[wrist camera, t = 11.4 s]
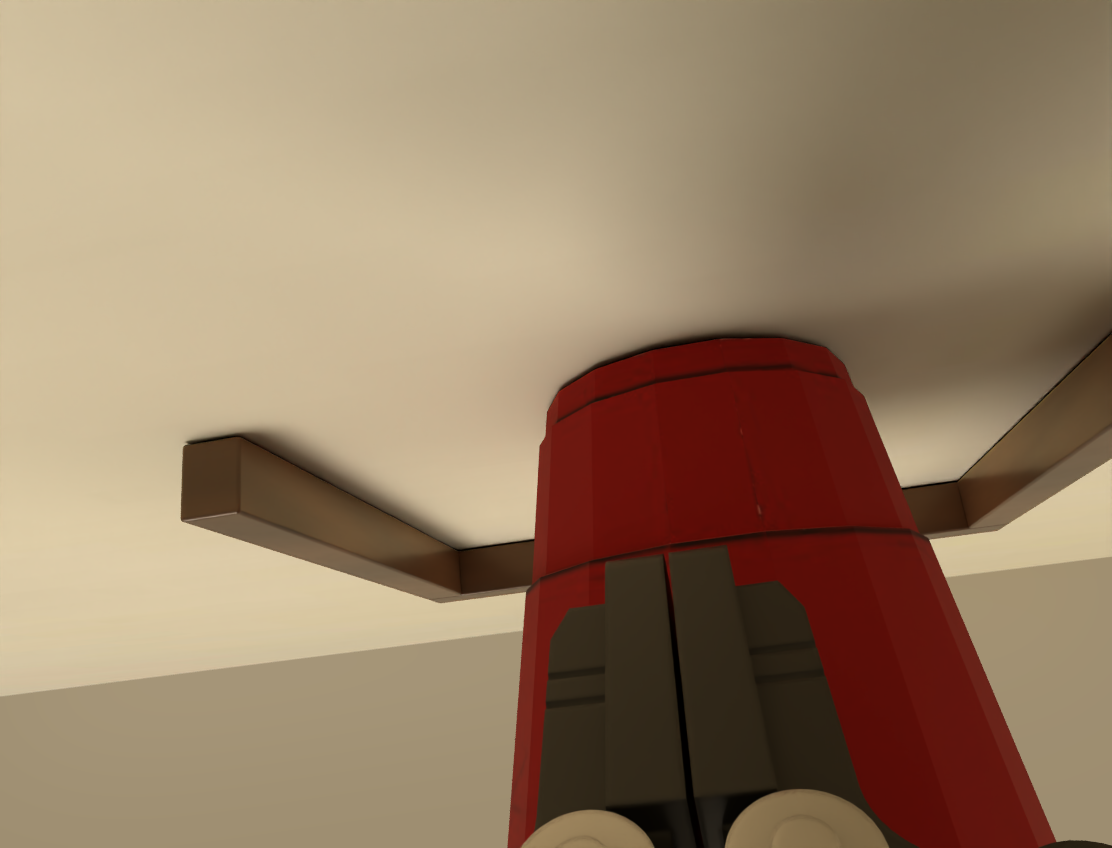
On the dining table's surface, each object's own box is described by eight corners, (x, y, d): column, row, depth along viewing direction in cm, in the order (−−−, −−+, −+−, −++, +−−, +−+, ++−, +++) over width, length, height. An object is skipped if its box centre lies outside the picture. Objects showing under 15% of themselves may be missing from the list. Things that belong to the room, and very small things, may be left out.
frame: (181, 444, 17) (178, 522, 16) (1244, 268, 14) (1278, 355, 13) (436, 560, 31) (439, 603, 30) (986, 484, 28) (998, 530, 28)
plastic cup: (1032, 155, 10) (1474, 1545, 6) (982, 407, 20) (1148, 1023, 16) (269, 370, 14) (269, 1344, 10) (540, 495, 23) (592, 1016, 20)
